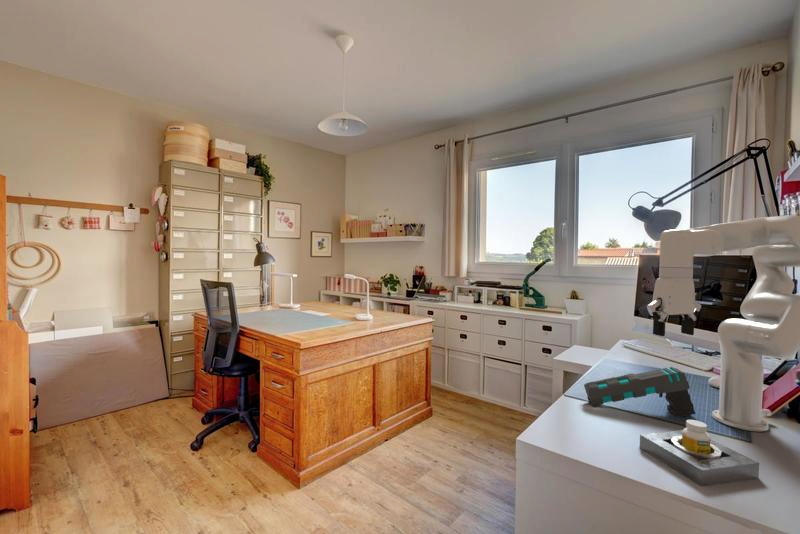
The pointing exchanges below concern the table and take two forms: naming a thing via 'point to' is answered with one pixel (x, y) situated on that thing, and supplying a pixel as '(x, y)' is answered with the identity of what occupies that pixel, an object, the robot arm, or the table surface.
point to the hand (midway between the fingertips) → (673, 334)
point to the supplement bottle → (696, 437)
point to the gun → (644, 389)
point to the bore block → (699, 459)
